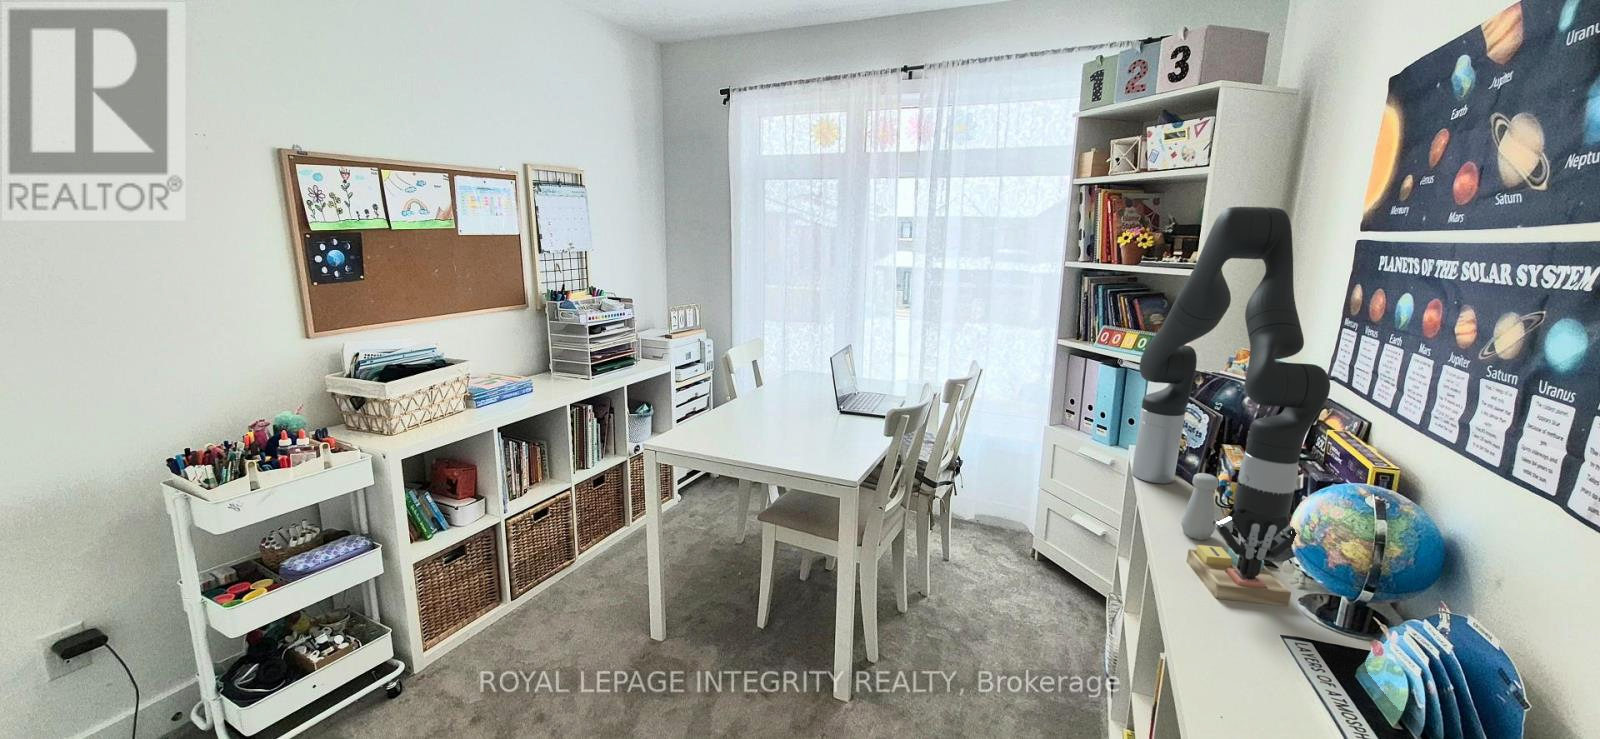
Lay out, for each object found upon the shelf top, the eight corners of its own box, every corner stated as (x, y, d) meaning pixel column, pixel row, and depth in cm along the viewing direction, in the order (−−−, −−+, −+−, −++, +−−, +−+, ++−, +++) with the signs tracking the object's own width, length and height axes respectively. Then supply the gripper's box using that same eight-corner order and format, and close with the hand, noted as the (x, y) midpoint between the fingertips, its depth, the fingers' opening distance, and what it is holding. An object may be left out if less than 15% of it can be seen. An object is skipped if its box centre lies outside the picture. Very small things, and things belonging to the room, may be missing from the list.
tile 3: (1225, 580, 109) (1227, 567, 109) (1250, 582, 109) (1253, 570, 108) (1236, 593, 106) (1239, 580, 105) (1262, 596, 105) (1265, 583, 104)
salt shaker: (1219, 540, 124) (1231, 480, 121) (1197, 544, 123) (1208, 483, 120) (1194, 526, 130) (1205, 468, 127) (1172, 530, 128) (1182, 471, 125)
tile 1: (1195, 556, 115) (1197, 544, 115) (1218, 558, 115) (1221, 546, 114) (1204, 568, 112) (1207, 555, 111) (1229, 570, 111) (1232, 558, 110)
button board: (1186, 561, 117) (1188, 549, 116) (1251, 567, 115) (1254, 555, 114) (1215, 598, 105) (1218, 585, 105) (1288, 605, 104) (1291, 592, 103)
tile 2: (1226, 559, 114) (1228, 547, 114) (1250, 561, 114) (1252, 549, 113) (1236, 571, 111) (1239, 558, 110) (1261, 573, 110) (1264, 561, 109)
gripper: (1297, 475, 105) (1277, 568, 109) (1211, 469, 107) (1194, 560, 111) (1326, 495, 98) (1303, 593, 102) (1233, 487, 100) (1214, 584, 104)
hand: (1246, 575), depth 106 cm, fingers closed
